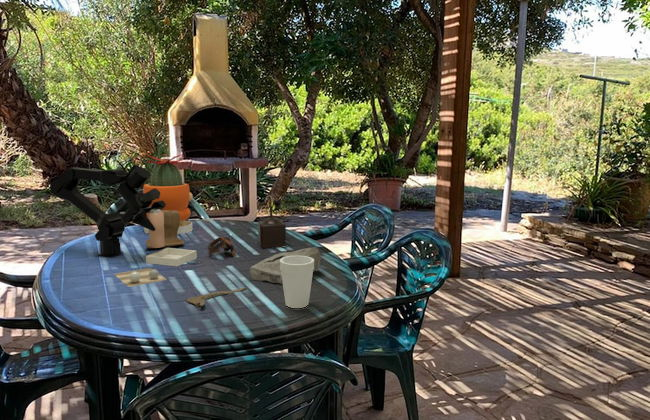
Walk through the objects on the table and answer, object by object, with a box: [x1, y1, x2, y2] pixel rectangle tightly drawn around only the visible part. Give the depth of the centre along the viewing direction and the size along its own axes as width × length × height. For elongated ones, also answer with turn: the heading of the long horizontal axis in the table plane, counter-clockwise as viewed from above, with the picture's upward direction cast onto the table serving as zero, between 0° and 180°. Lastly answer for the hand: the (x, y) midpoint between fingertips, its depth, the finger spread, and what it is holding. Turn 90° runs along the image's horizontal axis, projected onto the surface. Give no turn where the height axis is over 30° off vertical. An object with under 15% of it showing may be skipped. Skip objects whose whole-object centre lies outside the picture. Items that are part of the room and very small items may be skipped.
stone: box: [249, 246, 322, 285], centre depth 166 cm, size 18×10×20 cm
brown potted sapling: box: [257, 198, 287, 249], centre depth 207 cm, size 16×11×18 cm
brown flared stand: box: [145, 211, 185, 249], centre depth 201 cm, size 15×12×15 cm
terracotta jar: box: [148, 209, 165, 249], centre depth 181 cm, size 5×5×14 cm
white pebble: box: [129, 270, 141, 282], centre depth 156 cm, size 3×3×3 cm
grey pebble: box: [149, 269, 160, 279], centre depth 159 cm, size 3×3×3 cm
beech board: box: [113, 267, 168, 288], centre depth 161 cm, size 16×12×1 cm
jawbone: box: [186, 286, 247, 309], centre depth 146 cm, size 9×20×2 cm, turn 152°
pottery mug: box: [206, 236, 237, 258], centre depth 190 cm, size 12×10×8 cm
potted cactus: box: [142, 154, 193, 235], centre depth 225 cm, size 22×22×35 cm
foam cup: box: [280, 256, 314, 309], centre depth 138 cm, size 10×9×13 cm
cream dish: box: [145, 247, 198, 267], centre depth 181 cm, size 13×13×3 cm
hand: (159, 228), depth 180 cm, fingers closed on terracotta jar, 5 cm apart
